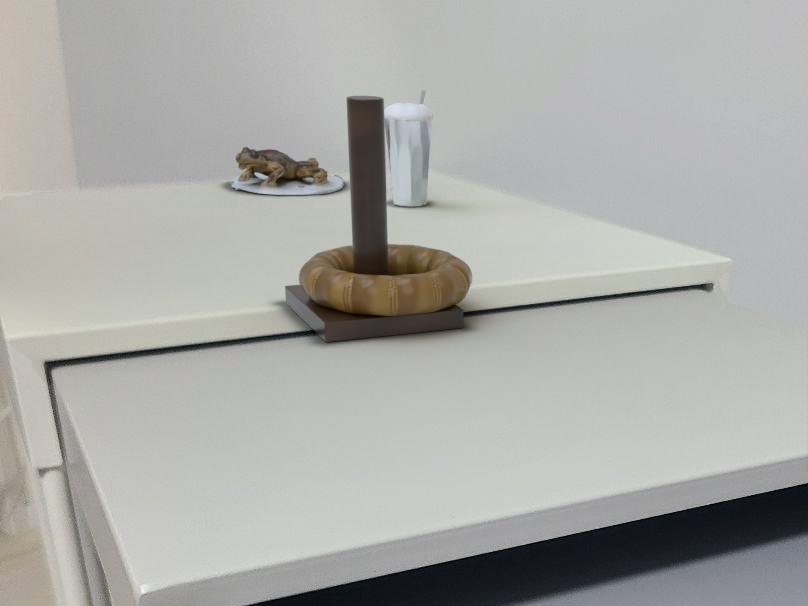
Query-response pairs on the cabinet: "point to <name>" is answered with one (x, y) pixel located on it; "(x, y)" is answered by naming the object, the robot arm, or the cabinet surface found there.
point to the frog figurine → (282, 174)
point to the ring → (387, 281)
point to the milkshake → (409, 150)
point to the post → (367, 238)
